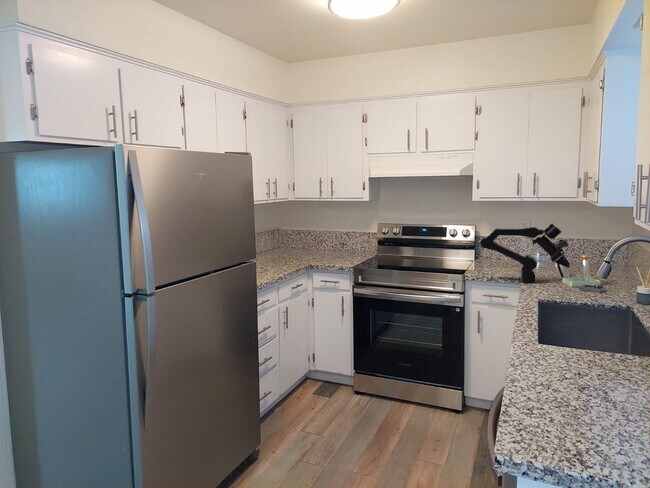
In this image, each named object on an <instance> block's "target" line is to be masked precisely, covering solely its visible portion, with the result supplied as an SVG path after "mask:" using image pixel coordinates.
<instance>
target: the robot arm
mask: <svg viewBox="0 0 650 488" xmlns="http://www.w3.org/2000/svg"><path fill="white" fill-rule="evenodd" d="M561 233H563V232H562V230H561V229H560V228H559V227H558V226H556V225H555V224H554V223H550V224H549V226H547V227H546V228H545V229H539V228H538V227H537V226H530V227H525V228H495V229H494V230H493V231H492V232H491V233H490V234H489V235H488V236H485V237H484V238H482V239H481V240H480V246H481V248H484V249H487V250H491V251H495V252H497V253H499V254H502V255H504V256H506V257H508V258H510V259H512V260H513V261H514V260H515V261H516V262H518V263H520V265H522V267H521V271H520V280H519V282H520V283H522V284H536V274H535V271H534V270H535V269H536V268H537V266H538V264H539V263H538V260H537V259H536V258H535V256H531V255H530V254H528V253H526V255H523V254H520V253H518V252H516V251H514V250H512V249H510V248H508V247H506V246H503V245H501V244H499V243H498V242H496V241H495V240H496V239H497V238H498V237H499V236H501V237H503V236H509V237H510V236H515V237H518V236H520V237H525V238H528V239H529V238H531V239H532V241H531V242H532V245H533V246H535V244H537V245H538V246H539V247H540V249H542V250H543V251H544V252H545V253H547V255H549V257H550V260H551V262H552V263H554V264H555V263H557V264H560V265H562V266H565V268H566V269H567V268H568V269H569V268H570V267H571V266H570V265H571V263H570V262H569V260H568V259H567V257H566V256H565V251H564V249H563V248H567V247H569V246H570V245H569V242H568V240H567V239H563V238H561V239H560V240H559V241H558V242H556V243H555V242H553V241H551V239H553V240H554V239H555V238H556V237H558V236H559V235H560V234H561ZM534 238H535V239H534Z"/></svg>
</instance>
